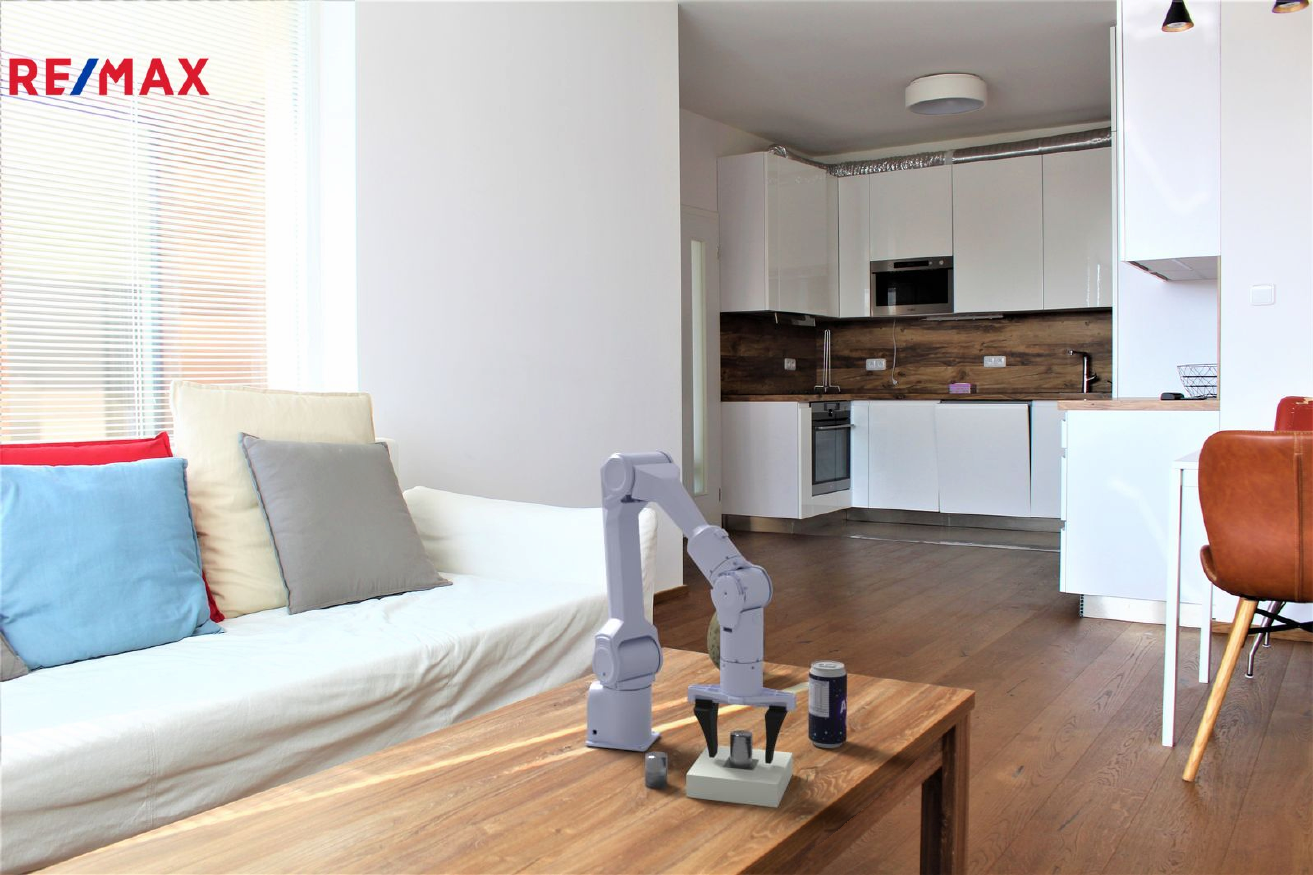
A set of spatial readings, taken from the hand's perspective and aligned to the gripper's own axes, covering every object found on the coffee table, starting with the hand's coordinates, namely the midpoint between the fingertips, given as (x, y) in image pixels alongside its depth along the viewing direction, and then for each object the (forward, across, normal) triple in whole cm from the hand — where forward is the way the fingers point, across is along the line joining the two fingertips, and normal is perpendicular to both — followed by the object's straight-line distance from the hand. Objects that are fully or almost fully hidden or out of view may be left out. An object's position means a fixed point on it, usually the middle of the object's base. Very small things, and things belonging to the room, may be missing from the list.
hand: (741, 758), depth 139 cm
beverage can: (+4, +9, +20) cm, 22 cm away
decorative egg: (+4, -12, +52) cm, 54 cm away
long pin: (+4, 0, 0) cm, 4 cm away
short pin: (+4, -11, -3) cm, 12 cm away
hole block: (+4, 0, 0) cm, 4 cm away
